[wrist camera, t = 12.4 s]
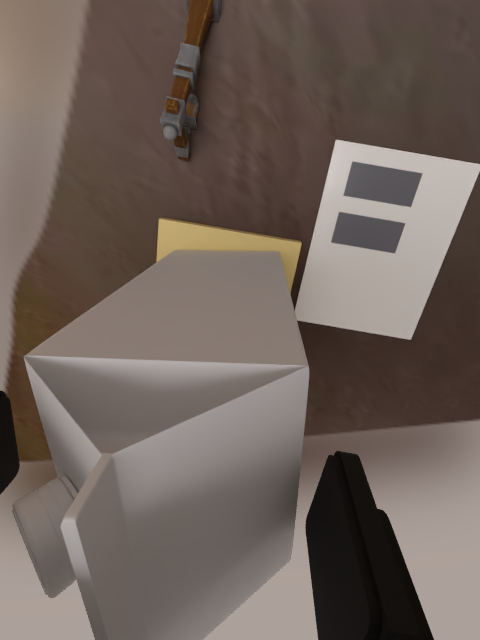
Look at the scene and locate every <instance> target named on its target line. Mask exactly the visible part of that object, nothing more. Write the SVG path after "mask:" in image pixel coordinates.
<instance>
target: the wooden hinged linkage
mask: <svg viewBox="0 0 480 640" xmlns="http://www.w3.org/2000/svg"><path fill="white" fill-rule="evenodd" d="M186 2H187V9H188V20H187V29H186V35H185V40H184V43H181V45H180V51H179V55H178V59H177V60H176V62H175V65H176V68H174V72H173V77H174V83H173V87H172V91H171V95H170V97H168V96H166V103H165V106H164V110H163V113H162V116H161V118H160V122H161V125H162V128H163V135H164V137H165V138H166V139H167V140H169V141H173V140H174V149H175V152H176V153H177V156H178V158H179V159H182V160H186V161H188V160H189V156H190V151H189V150H190V149H189V146H190V145H189V140H188V137H187V135H186V134H191V133H190V128H192V129H197V125H196V118H197V115H198V112H199V104H198V99H197V97H196V96H195V95H194V94H190V91H193V92H194V88H195V83H194V82H196V76H197V72H198V68H199V65H200V63H201V59H200V51H201V47H202V44H203V42H204V39H205V36H206V33H207V30H208V27H209V25H210V23H211V21H216V22H219V16H220V15H221V7H220V0H186ZM189 94H190V95H189Z"/></svg>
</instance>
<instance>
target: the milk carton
mask: <svg viewBox="0 0 480 640" xmlns="http://www.w3.org/2000/svg"><path fill="white" fill-rule="evenodd" d="M24 360H25V364H26V368H27V372H28V376H29V379H30V383H31V387H32V390H33V394H34V397H35V401H36V404H37V408H38V411H39V415H40V418H41V422H42V425H43V429H44V432H45V435H46V439H47V442H48V446H49V449H50V452H51V456H52V459H53V463H54V466H55V470H56V472H57V477H58V478H56V479H54V480H52V481H50V482H48V483H47V484H45V486H43V487H41V488H40V489H38V490H36V491H32V492H31V493H29V494H27V495H25V496H24V497H22V498H20V499H18V500H17V501H15V502H14V503H13V510H12V511H13V514H14V517H15V520H16V522H17V525H18V527H19V530H20V533H21V535H22V538H23V540H24V543H25V545H26V548H27V550H28V553H29V555H30V558H31V560H32V563H33V565H34V568H35V570H36V573H37V575H38V577H39V580H40V582H41V585H42V587H43V589H44V592H45V594H46V595H48V596H49V597H50V598H54V597H56V596H57V595H58V594H60V593H61V592H62V591H63V590H65V589H66V588H67V587H68V586H70V585H71V584H72V583H73V582H74V581H75V579H77V582H78V586H79V589H80V592H81V595H82V598H83V602H84V605H85V608H86V611H87V615H88V618H89V621H90V624H91V627H92V631H93V634H94V637H95V640H203V639H204V638H205V637H206V636H207V635H208V634H209V633H210V632H212V631H213V630H214V629H215V628H216V627H217V626H218V625H219V624H220V623H222V622H223V621H224V620H225V619H226V618H227V617H228V616H229V615H230V614H232V613H233V612H234V611H235V610H236V609H237V608H238V607H239V606H240V605H241V604H243V603H244V602H245V601H246V600H247V599H248V598H249V597H250V596H251V595H253V594H254V593H255V592H256V591H257V590H258V589H259V588H260V587H261V586H263V584H265V583H266V582H267V581H268V580H269V579H270V578H271V577H273V576H274V575H275V574H276V573H277V572H278V571H279V570H280V569H281V568H282V567H284V566H285V565H286V564H287V563H288V562H289V561H290V559H291V554H292V547H293V537H294V528H295V517H296V507H297V497H298V487H299V477H300V467H301V457H302V447H303V437H304V427H305V417H306V407H307V396H308V385H309V366H308V362H307V358H306V354H305V350H304V346H303V342H302V338H301V334H300V330H299V327H298V323H297V319H296V315H295V311H294V307H293V303H292V299H291V295H290V291H289V287H288V283H287V279H286V275H285V271H284V267H283V263H282V260H281V256H280V252H279V251H224V250H174V251H172V252H171V253H169V254H168V255H167V256H165V257H164V258H162V259H161V260H160V261H158V262H157V263H155V264H154V265H152V266H151V267H150V268H148V269H147V270H145V271H144V272H142V273H141V274H140V275H138V276H137V277H135V278H134V279H132V280H131V281H130V282H128V283H127V284H125V285H124V286H122V287H121V288H120V289H118V290H117V291H115V292H114V293H112V294H111V295H110V296H108V297H107V298H105V299H104V300H102V301H101V302H100V303H98V304H97V305H95V306H94V307H92V308H91V309H90V310H88V311H87V312H85V313H84V314H83V315H81V316H80V317H78V318H77V319H75V320H74V321H73V322H71V323H70V324H68V325H67V326H65V327H64V328H63V329H61V330H60V331H58V332H57V333H55V334H54V335H53V336H51V337H50V338H48V339H47V340H46V341H44V342H43V343H41V344H40V345H39V346H37V347H36V348H35V349H33V350H32V351H31V352H29V353H28V354H27V355H25V356H24Z"/></svg>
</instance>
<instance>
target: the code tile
mask: <svg viewBox="0 0 480 640" xmlns="http://www.w3.org/2000/svg"><path fill="white" fill-rule="evenodd" d="M479 172H480V164H475V163H469V162H463V161H458V160H452V159H446V158H440V157H434V156H428V155H422V154H417V153H411V152H405V151H399V150H393V149H387V148H382V147H376V146H370V145H364V144H358V143H352V142H346V141H341V140H336V141H335V145H334V149H333V153H332V157H331V161H330V166H329V170H328V174H327V178H326V182H325V186H324V191H323V195H322V199H321V203H320V207H319V211H318V215H317V220H316V224H315V228H314V232H313V236H312V240H311V245H310V249H309V253H308V257H307V261H306V265H305V269H304V274H303V278H302V282H301V286H300V290H299V294H298V299H297V303H296V307H295V315H296V319H297V320H298V321H304V322H310V323H316V324H322V325H327V326H333V327H339V328H345V329H351V330H356V331H362V332H368V333H374V334H380V335H385V336H391V337H397V338H403V339H409V340H411V338H412V336H413V333H414V331H415V329H416V326H417V324H418V321H419V319H420V316H421V314H422V311H423V309H424V306H425V304H426V302H427V299H428V297H429V294H430V292H431V289H432V287H433V284H434V282H435V279H436V277H437V275H438V272H439V270H440V267H441V265H442V262H443V260H444V257H445V255H446V252H447V250H448V248H449V245H450V243H451V240H452V238H453V235H454V233H455V230H456V228H457V226H458V223H459V221H460V218H461V216H462V213H463V211H464V208H465V206H466V203H467V201H468V199H469V196H470V194H471V191H472V189H473V186H474V184H475V181H476V179H477V176H478V174H479Z"/></svg>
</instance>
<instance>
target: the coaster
mask: <svg viewBox="0 0 480 640" xmlns="http://www.w3.org/2000/svg"><path fill="white" fill-rule="evenodd" d="M301 245H302V243H301V241H298V240H292V239H286V238H281V237H275V236H269V235H263V234H257V233H251V232H246V231H240V230H234V229H228V228H222V227H217V226H211V225H205V224H199V223H193V222H187V221H182V220H176V219H170V218H164V217H163V218H160V219H159V227H158V245H157V262H158V261H160V260H161V259H162V258H164V257H165V256H167V255H168V254H169V253H171V252H172V251H174V250H224V251H279V252H280V256H281V260H282V263H283V267H284V271H285V275H286V279H287V283H288V287H289V291H290V293H291V288H292V284H293V280H294V275H295V271H296V267H297V262H298V258H299V253H300V249H301Z"/></svg>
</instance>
